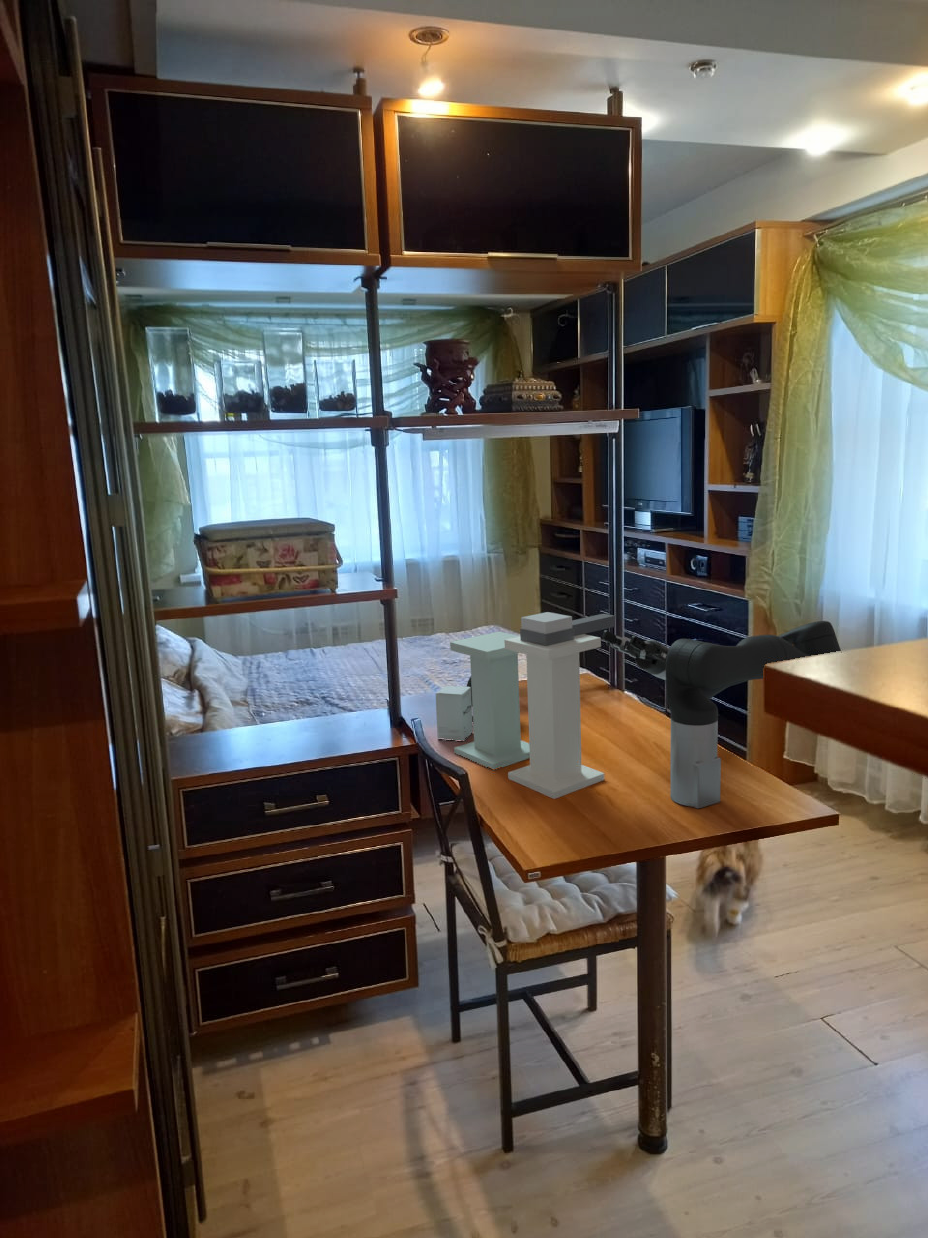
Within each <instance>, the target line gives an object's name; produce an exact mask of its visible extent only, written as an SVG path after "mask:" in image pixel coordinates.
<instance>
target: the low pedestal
mask: <svg viewBox="0 0 928 1238" xmlns="http://www.w3.org/2000/svg"><path fill="white" fill-rule="evenodd" d="M519 636H520V635H515V634H511V633H509V632H508V633H506V632H503V631H495V632H491V633H486V634H482V635H477V636H473V637H467V638H462V639H459V640H454V641H450V642H449V648H450V652H451V651H452V652H454V653H455V652H456V653H459V654H462V655H467V656H469V659H470V661H469V663H470V677H471V685H472V706H473V707H472V716H473V724H472V728H473V741H471V742H469V743H466V744H461V745H459V746H454V748H453V749H454V750H453V751H454V754H455V753H456V754H455V755H457V754H458V755H457V756H459V755H461V756H463V757H462V758H464V757H466V758H468V759H470V760H469V761H471V760H472V761H471V762H473V761H474V762H473V763H475V762H477V763H476V764H478V763H479V764H478V765H480V764H481V765H480V766H482V765H484V766H485V768H487V767H490V768H492V769H496V768H499V767H502V768H504V767H507V766H510V765H514V764H516V763H519V762H522V761H525V760H528V759H530V749H529V742H527V741H525V740H522V739H521V738H522V737H521V736H522V735H521V734H522V733H521V711H520V709H521V707H520V706H521V705H520V686H519V684H520V683H519V682H520V681H519V656H518V655H519V654H520V653H519V652H515V651H511V650H507V649H505V642H504V640H506V639H510V638H515V637H519ZM461 756H460V757H461ZM466 758H465V759H466ZM468 759H467V760H468ZM484 766H483V767H484ZM499 769H500V768H499ZM496 770H497V769H496Z"/></svg>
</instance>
